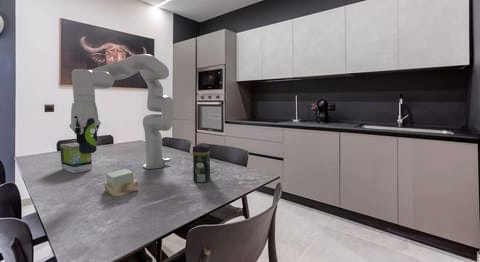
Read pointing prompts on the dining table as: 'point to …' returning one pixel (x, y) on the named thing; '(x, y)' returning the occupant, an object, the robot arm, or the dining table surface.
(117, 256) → the dining table surface
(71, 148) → the tea box
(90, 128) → the beverage can
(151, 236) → the dining table surface
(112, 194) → the beech base brick
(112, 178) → the sage brick
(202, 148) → the coffee jar
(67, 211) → the dining table surface
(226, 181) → the dining table surface
